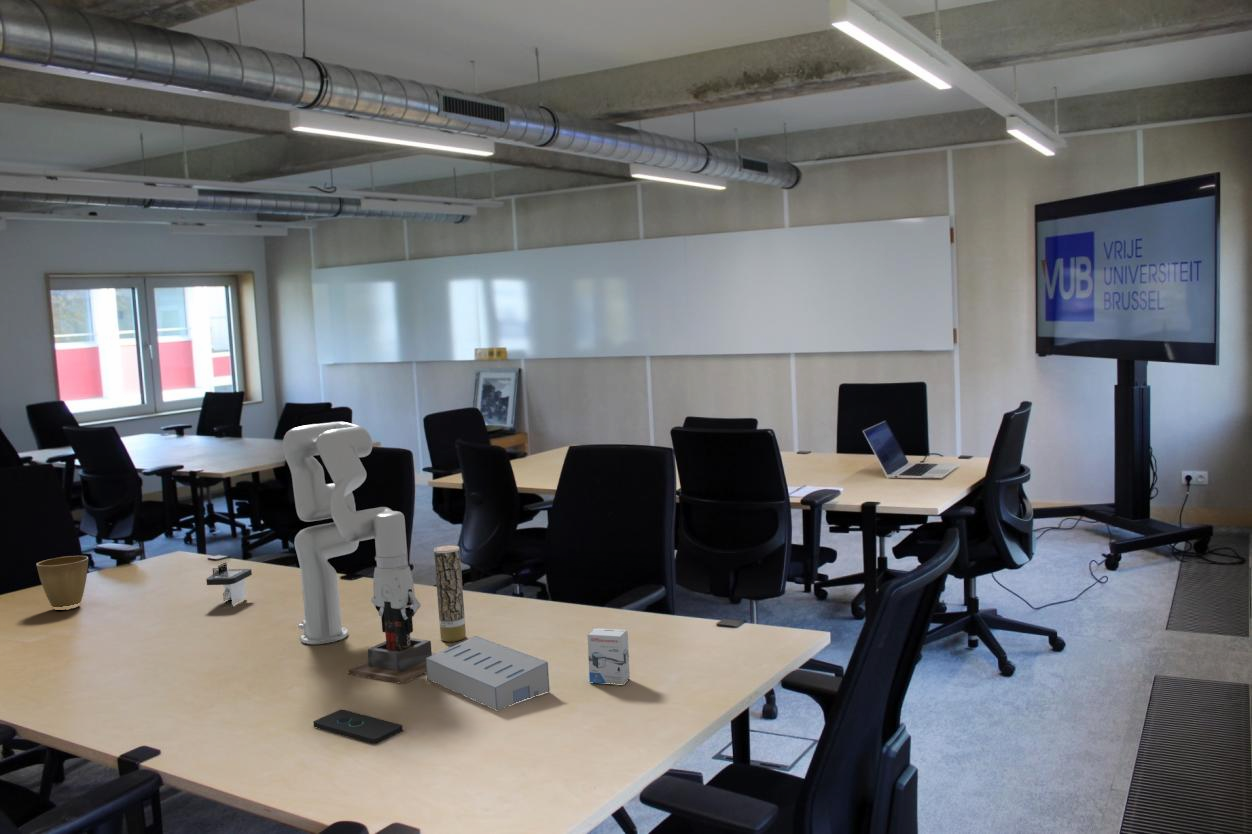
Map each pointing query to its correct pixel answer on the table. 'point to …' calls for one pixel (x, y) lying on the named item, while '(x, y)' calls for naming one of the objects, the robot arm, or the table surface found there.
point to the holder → (395, 662)
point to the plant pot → (63, 579)
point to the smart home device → (358, 726)
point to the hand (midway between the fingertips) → (397, 631)
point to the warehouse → (489, 672)
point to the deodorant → (395, 629)
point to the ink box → (608, 656)
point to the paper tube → (450, 593)
